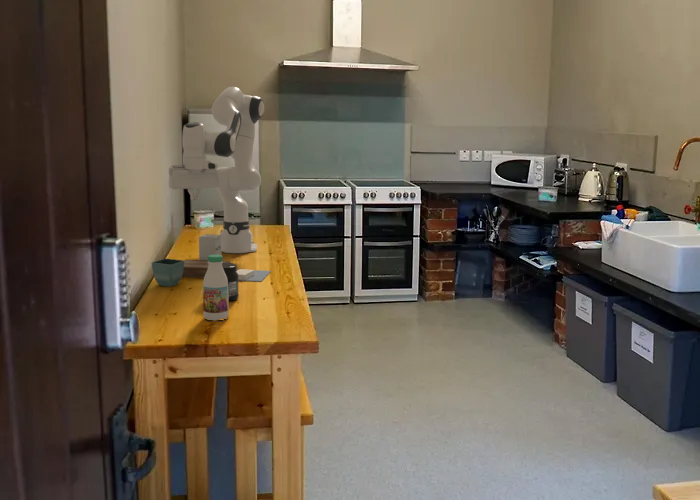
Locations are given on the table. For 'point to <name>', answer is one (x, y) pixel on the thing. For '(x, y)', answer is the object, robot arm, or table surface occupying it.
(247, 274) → the beige rectangular block
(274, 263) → the table surface
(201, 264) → the board
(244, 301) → the table surface
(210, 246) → the supplement box
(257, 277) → the mat
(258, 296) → the table surface
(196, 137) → the robot arm
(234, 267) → the supplement container
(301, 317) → the table surface
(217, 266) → the milk bottle
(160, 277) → the flower pot
